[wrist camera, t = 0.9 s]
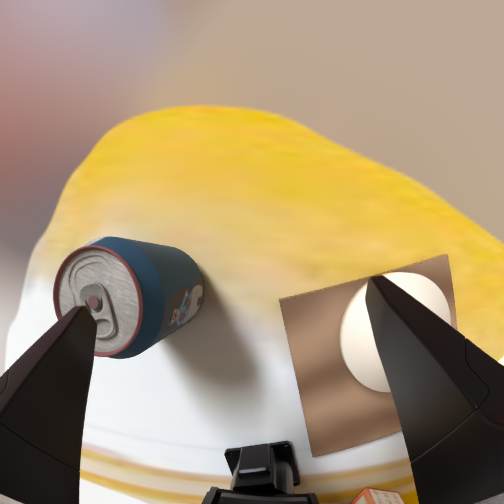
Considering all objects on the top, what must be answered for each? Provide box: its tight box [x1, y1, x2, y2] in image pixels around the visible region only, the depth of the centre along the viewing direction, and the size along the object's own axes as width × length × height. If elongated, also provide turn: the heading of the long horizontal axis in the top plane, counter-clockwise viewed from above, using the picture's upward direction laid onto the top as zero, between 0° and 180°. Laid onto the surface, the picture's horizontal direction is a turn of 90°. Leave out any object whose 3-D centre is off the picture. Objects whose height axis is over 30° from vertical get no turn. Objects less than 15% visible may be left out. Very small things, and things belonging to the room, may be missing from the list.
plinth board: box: [279, 254, 457, 457], centre depth 22 cm, size 16×16×3 cm
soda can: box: [53, 237, 204, 359], centre depth 19 cm, size 7×7×12 cm
